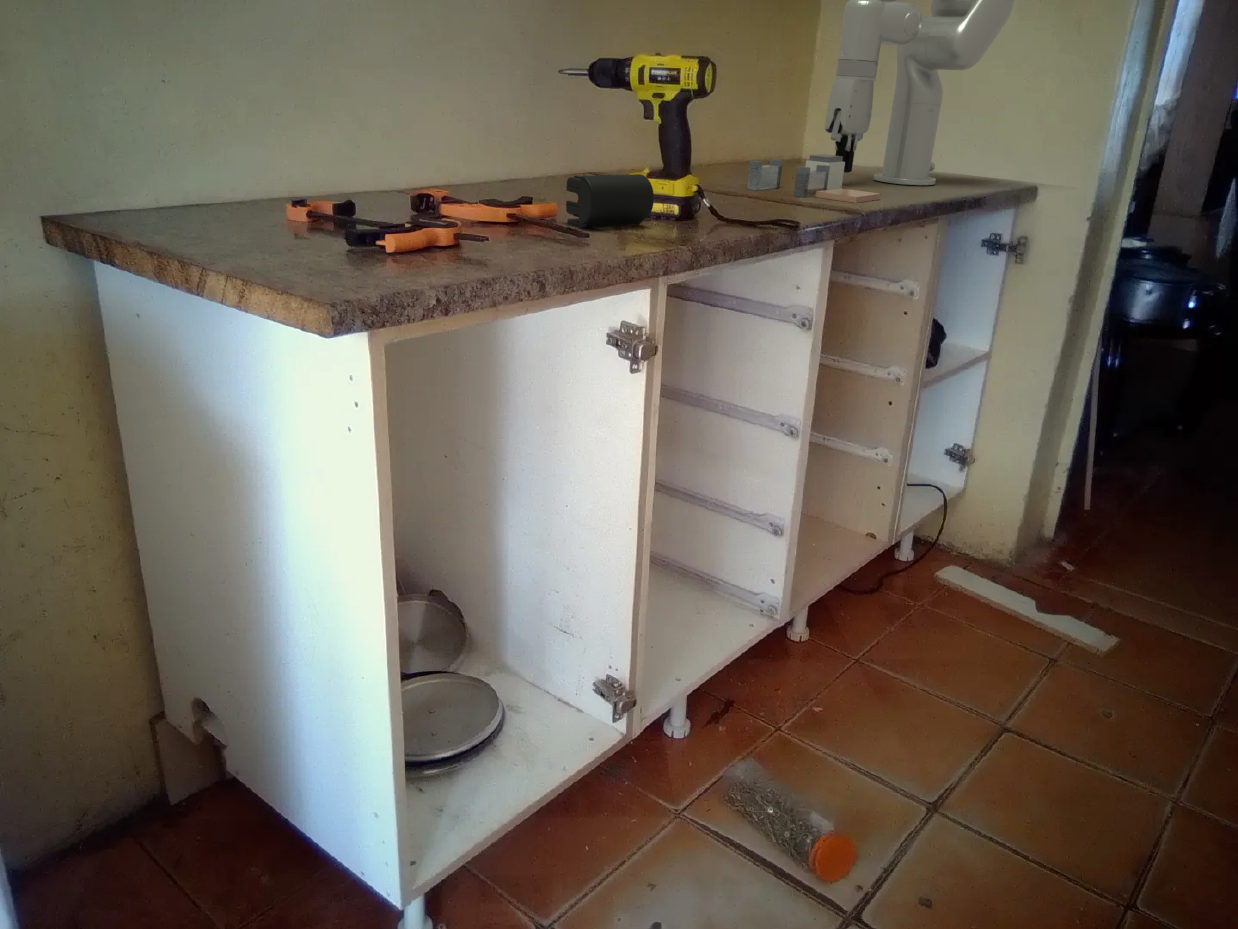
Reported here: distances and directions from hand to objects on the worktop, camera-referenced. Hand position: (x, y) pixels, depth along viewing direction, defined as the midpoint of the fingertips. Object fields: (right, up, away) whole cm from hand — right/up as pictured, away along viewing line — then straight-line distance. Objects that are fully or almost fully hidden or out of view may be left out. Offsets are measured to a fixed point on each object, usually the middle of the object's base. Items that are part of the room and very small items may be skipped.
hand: (842, 171), depth 187 cm
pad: (-3, -10, -18) cm, 21 cm away
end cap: (-46, -26, -59) cm, 79 cm away
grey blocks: (-13, -8, -13) cm, 20 cm away
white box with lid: (-5, -4, -4) cm, 8 cm away
